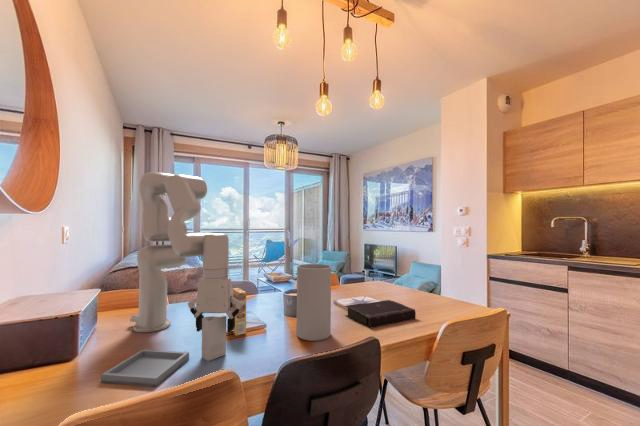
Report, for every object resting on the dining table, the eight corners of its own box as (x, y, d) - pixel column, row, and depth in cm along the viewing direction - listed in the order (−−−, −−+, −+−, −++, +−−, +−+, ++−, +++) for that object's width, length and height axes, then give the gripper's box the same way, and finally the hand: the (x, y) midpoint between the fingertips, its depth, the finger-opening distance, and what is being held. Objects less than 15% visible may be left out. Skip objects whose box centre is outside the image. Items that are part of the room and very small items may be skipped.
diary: (416, 320, 127) (416, 309, 127) (370, 330, 115) (370, 317, 115) (386, 308, 143) (386, 298, 143) (343, 316, 131) (343, 305, 131)
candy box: (246, 333, 108) (247, 291, 109) (235, 336, 106) (235, 293, 107) (238, 326, 116) (239, 287, 116) (227, 328, 113) (228, 288, 114)
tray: (100, 382, 75) (100, 374, 75) (142, 356, 90) (142, 349, 90) (156, 386, 73) (156, 378, 73) (189, 358, 88) (189, 352, 88)
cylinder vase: (334, 331, 112) (335, 264, 113) (324, 344, 100) (324, 269, 101) (304, 327, 116) (304, 263, 117) (290, 338, 104) (291, 267, 105)
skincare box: (218, 351, 94) (219, 312, 94) (226, 355, 91) (227, 315, 91) (200, 357, 89) (201, 317, 90) (208, 362, 86) (208, 320, 87)
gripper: (182, 275, 88) (181, 334, 87) (238, 276, 86) (238, 335, 85) (195, 271, 95) (194, 325, 95) (247, 272, 94) (247, 327, 93)
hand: (215, 330), depth 90 cm, fingers open, 9 cm apart
